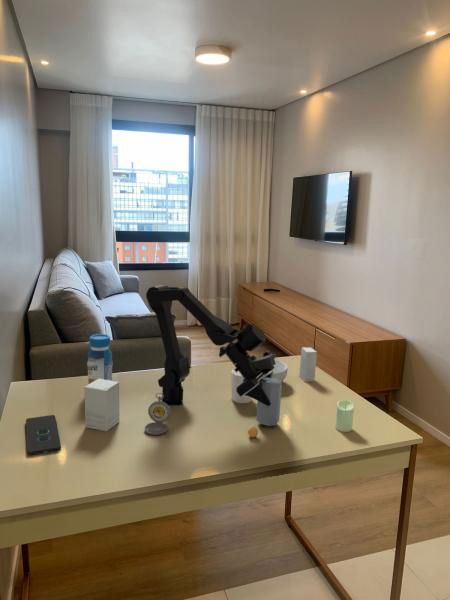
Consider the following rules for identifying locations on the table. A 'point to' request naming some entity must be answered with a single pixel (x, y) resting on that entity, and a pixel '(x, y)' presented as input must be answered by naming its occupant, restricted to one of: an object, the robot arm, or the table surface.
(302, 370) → the skincare box
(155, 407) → the pocket watch
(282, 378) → the cereal bowl
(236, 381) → the white cup
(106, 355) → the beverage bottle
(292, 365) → the table surface
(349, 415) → the candle
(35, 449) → the smart home device
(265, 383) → the grey faceted canister
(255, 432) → the amber ball
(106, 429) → the supplement box
